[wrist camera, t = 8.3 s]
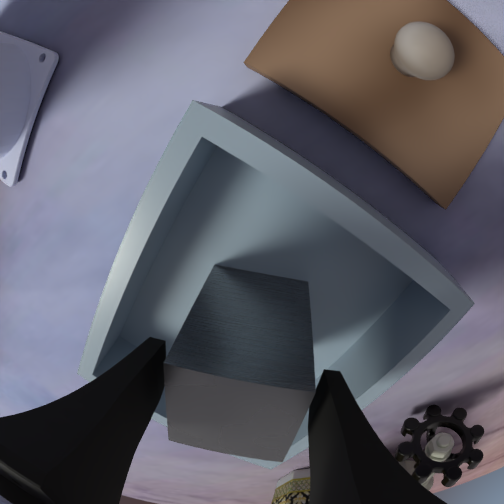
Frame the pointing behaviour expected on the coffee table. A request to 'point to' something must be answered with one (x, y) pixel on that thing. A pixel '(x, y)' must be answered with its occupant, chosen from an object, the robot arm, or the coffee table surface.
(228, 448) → the grey rectangular block
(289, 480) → the ceramic cup
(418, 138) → the stud block
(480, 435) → the valve
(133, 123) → the coffee table surface
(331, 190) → the bin
